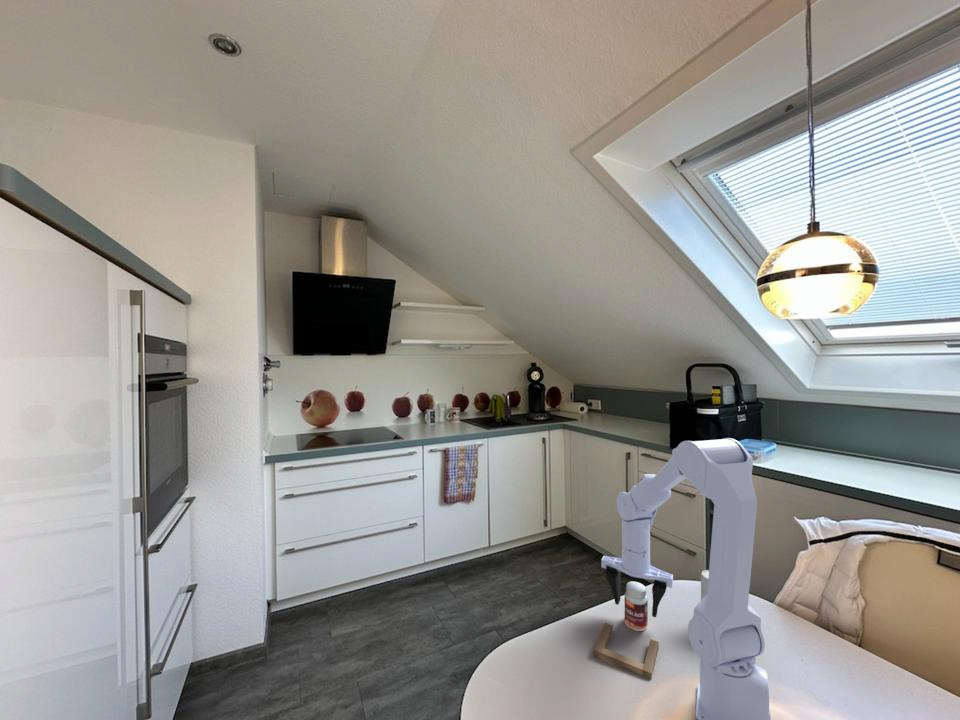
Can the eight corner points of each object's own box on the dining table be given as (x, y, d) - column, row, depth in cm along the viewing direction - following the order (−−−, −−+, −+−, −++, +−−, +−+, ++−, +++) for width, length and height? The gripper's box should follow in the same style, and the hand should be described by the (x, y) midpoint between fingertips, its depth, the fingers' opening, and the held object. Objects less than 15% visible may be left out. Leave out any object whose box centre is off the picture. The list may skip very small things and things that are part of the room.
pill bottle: (622, 627, 83) (622, 588, 83) (626, 614, 87) (626, 577, 87) (646, 635, 81) (646, 595, 81) (649, 621, 85) (649, 584, 85)
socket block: (658, 649, 77) (658, 641, 77) (651, 681, 69) (651, 673, 69) (605, 629, 82) (605, 622, 82) (593, 657, 75) (593, 649, 75)
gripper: (674, 547, 83) (674, 609, 84) (606, 531, 91) (606, 587, 91) (670, 562, 77) (670, 629, 78) (598, 543, 85) (598, 604, 85)
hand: (635, 608), depth 84 cm, fingers open, 7 cm apart
